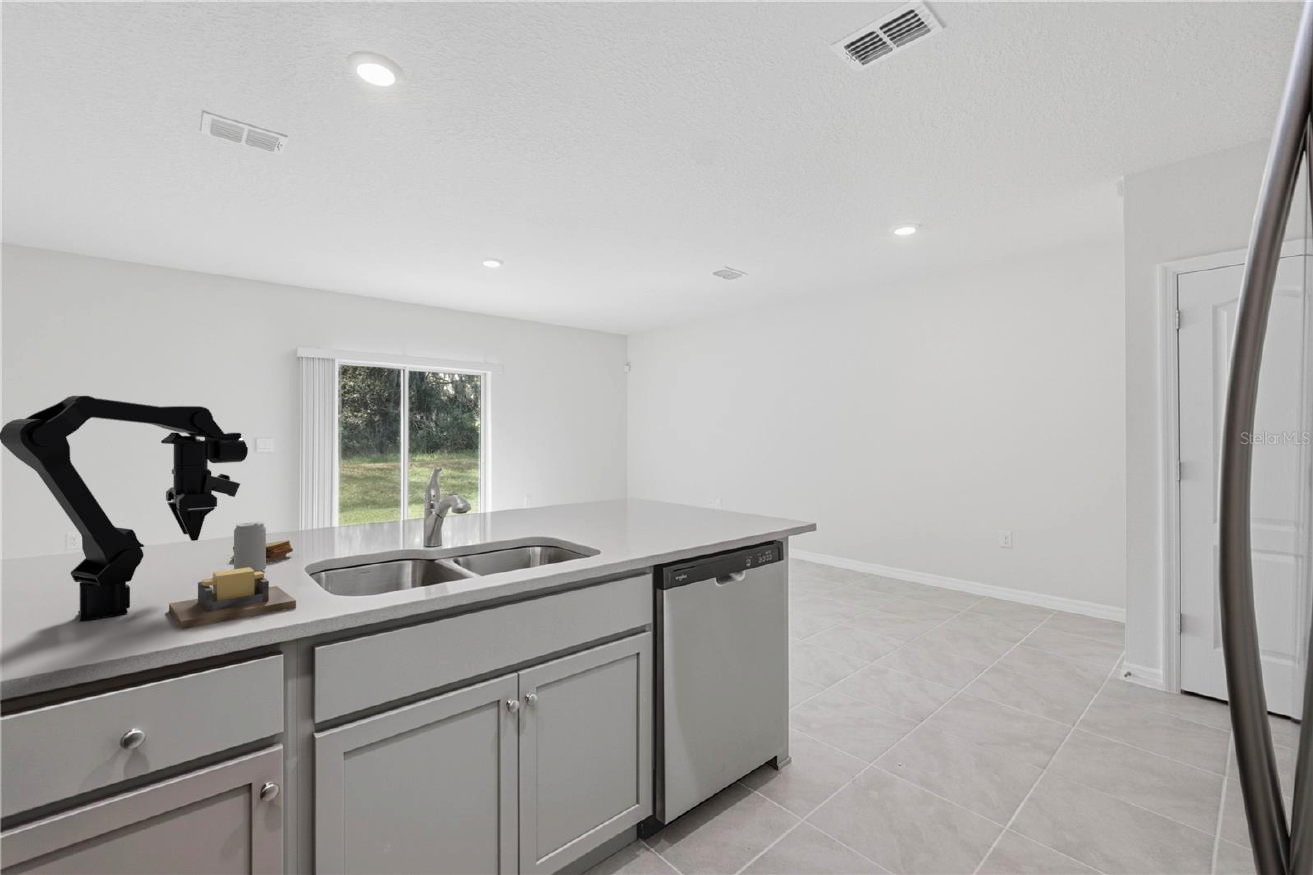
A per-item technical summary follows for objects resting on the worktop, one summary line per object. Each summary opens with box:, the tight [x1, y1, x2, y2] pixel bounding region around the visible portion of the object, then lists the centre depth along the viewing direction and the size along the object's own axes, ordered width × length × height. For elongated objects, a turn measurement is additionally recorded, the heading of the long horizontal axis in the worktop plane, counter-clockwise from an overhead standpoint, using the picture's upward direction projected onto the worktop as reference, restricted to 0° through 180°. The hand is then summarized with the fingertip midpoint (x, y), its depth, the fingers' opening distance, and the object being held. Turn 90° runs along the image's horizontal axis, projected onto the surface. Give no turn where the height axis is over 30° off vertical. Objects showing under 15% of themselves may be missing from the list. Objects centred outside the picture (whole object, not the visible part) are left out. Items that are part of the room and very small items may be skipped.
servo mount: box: [168, 577, 297, 630], centre depth 115 cm, size 18×14×6 cm
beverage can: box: [233, 521, 267, 572], centre depth 142 cm, size 6×6×12 cm
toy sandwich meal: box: [230, 539, 294, 563], centre depth 156 cm, size 12×14×5 cm
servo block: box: [201, 567, 265, 602], centre depth 115 cm, size 10×4×6 cm, turn 137°
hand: (190, 537), depth 125 cm, fingers open, 9 cm apart
